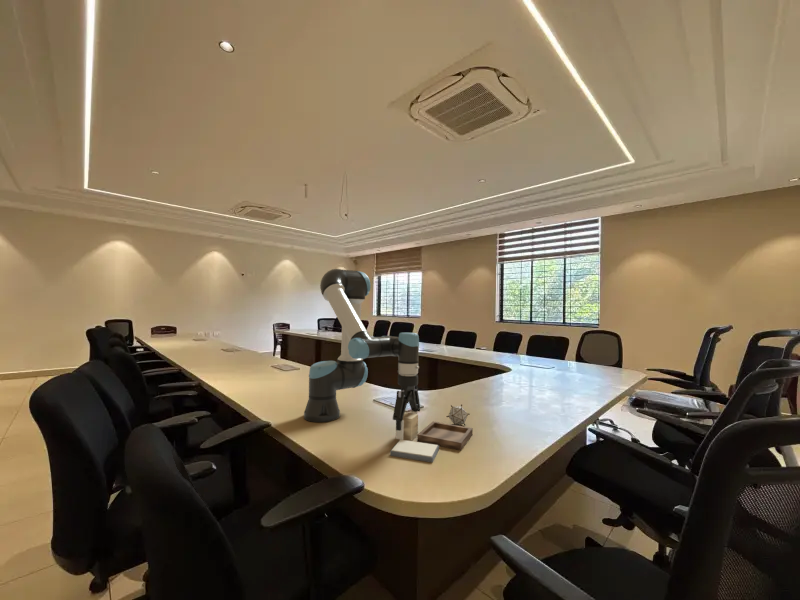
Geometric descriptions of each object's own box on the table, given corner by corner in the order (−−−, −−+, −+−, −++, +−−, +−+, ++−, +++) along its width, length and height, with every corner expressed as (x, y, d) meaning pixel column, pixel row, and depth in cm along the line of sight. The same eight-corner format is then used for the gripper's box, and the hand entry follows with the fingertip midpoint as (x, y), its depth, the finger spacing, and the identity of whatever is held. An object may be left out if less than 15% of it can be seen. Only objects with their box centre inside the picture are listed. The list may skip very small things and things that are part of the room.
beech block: (396, 438, 123) (396, 416, 123) (403, 433, 128) (403, 412, 128) (411, 441, 120) (411, 419, 120) (417, 435, 125) (418, 414, 126)
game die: (461, 435, 137) (469, 420, 131) (442, 426, 138) (449, 411, 133) (466, 419, 144) (473, 404, 138) (447, 410, 145) (454, 395, 140)
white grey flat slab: (390, 455, 108) (390, 450, 108) (399, 443, 118) (399, 438, 118) (432, 462, 104) (432, 456, 104) (438, 449, 113) (439, 444, 113)
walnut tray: (417, 441, 120) (417, 434, 120) (432, 427, 134) (433, 421, 134) (461, 450, 113) (461, 442, 113) (472, 434, 127) (472, 428, 127)
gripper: (403, 380, 112) (401, 446, 111) (429, 370, 134) (428, 426, 133) (383, 378, 115) (382, 442, 114) (411, 369, 137) (410, 423, 136)
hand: (406, 433), depth 123 cm, fingers open, 12 cm apart
